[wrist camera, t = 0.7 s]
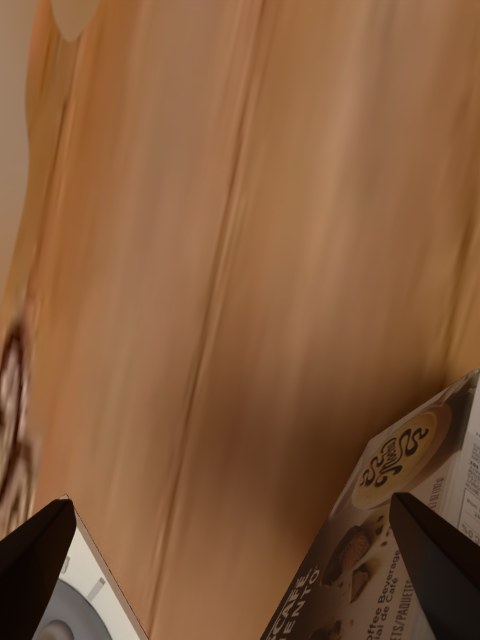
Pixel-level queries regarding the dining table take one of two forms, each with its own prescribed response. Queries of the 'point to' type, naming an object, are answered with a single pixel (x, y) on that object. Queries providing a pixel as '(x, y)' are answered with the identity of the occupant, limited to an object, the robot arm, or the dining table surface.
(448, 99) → the dining table surface
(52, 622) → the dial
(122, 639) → the panel
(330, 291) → the dining table surface
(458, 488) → the coffee box
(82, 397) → the dining table surface
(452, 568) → the robot arm
